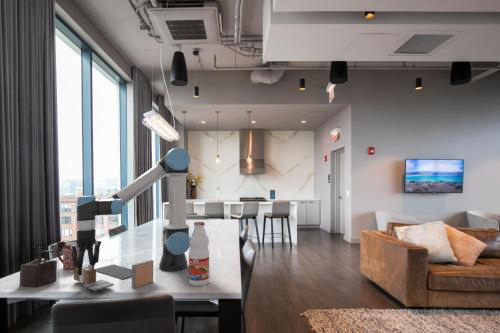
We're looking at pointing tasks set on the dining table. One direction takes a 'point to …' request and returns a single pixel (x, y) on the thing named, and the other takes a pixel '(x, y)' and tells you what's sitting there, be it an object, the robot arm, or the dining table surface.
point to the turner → (91, 279)
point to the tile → (142, 273)
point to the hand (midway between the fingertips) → (85, 280)
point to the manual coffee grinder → (40, 269)
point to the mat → (116, 271)
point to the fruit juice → (199, 256)
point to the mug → (67, 256)
